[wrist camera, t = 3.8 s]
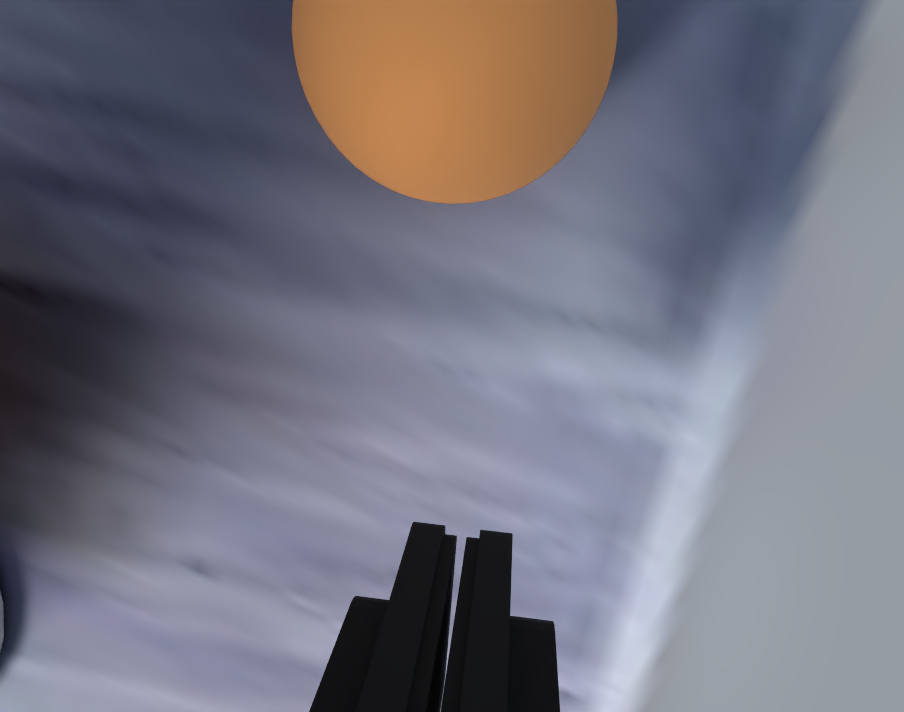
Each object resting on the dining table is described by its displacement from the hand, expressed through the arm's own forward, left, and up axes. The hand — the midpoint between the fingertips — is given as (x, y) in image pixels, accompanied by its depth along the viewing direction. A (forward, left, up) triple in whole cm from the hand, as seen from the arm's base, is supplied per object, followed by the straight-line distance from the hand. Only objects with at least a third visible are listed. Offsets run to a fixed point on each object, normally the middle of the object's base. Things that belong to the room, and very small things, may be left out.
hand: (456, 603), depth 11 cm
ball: (+5, +8, -4) cm, 10 cm away
